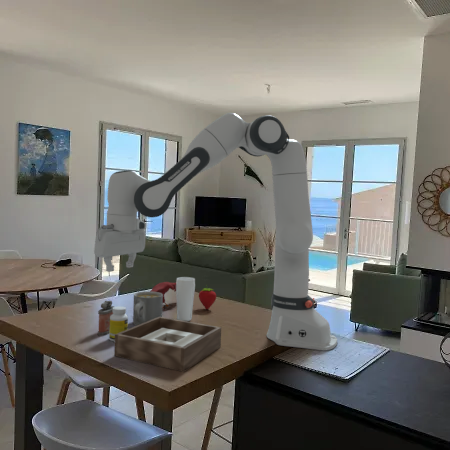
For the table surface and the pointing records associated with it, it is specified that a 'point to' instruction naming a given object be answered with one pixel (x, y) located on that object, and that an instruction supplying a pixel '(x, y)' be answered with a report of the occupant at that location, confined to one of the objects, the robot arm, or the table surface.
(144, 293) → the coffee mug
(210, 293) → the strawberry
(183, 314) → the drinking glass
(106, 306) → the lighter
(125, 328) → the supplement bottle
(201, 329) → the crate
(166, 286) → the decorative bird sculpture
